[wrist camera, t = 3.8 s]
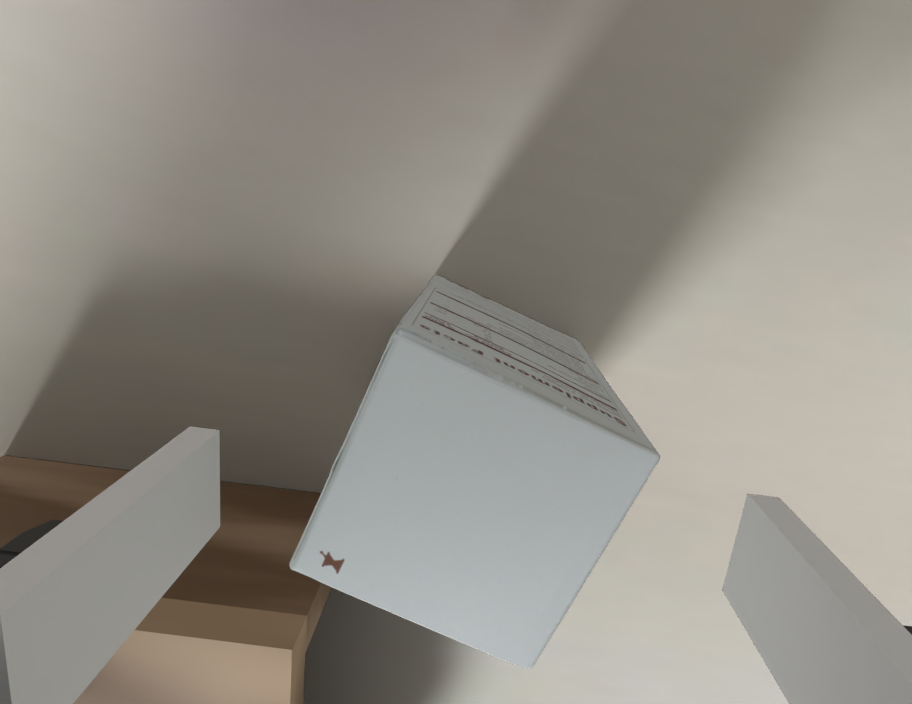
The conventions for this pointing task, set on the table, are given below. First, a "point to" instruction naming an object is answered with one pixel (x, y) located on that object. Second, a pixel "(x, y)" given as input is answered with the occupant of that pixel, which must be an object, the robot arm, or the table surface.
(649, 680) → the table surface
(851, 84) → the table surface
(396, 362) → the supplement box
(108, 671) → the walnut shelf
